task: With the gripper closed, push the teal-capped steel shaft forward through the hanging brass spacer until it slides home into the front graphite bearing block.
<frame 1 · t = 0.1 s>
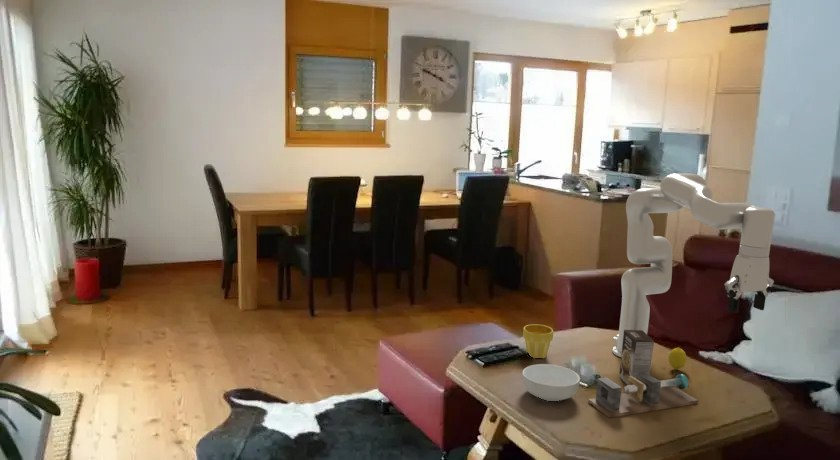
hand: (745, 310, 183), 31 cm above the table, fingers open, 9 cm apart
cereal bowl: (549, 396, 194), on the table
plant pot: (536, 355, 225), on the table
shaft: (655, 385, 192), point 5 cm above the table, slide at 0.0 cm
coffee box: (633, 382, 206), on the table
lemon: (675, 370, 217), on the table
shaft frame: (629, 404, 190), on the table
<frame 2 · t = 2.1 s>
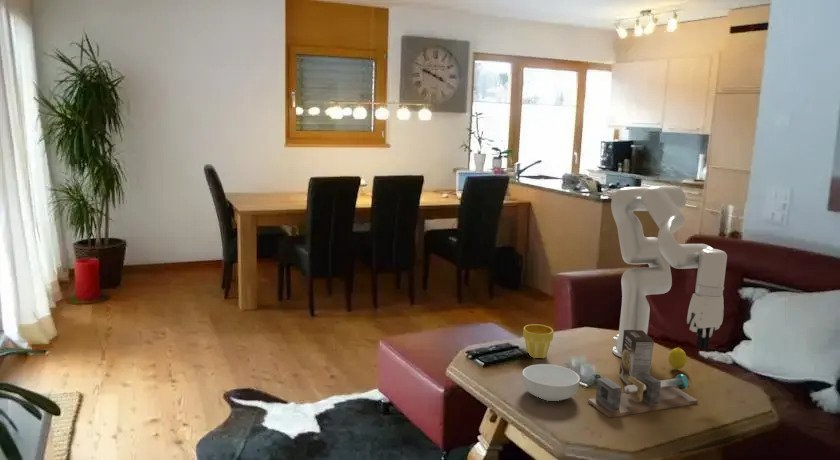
hand: (702, 348, 195), 15 cm above the table, fingers closed
nothing on the table moved.
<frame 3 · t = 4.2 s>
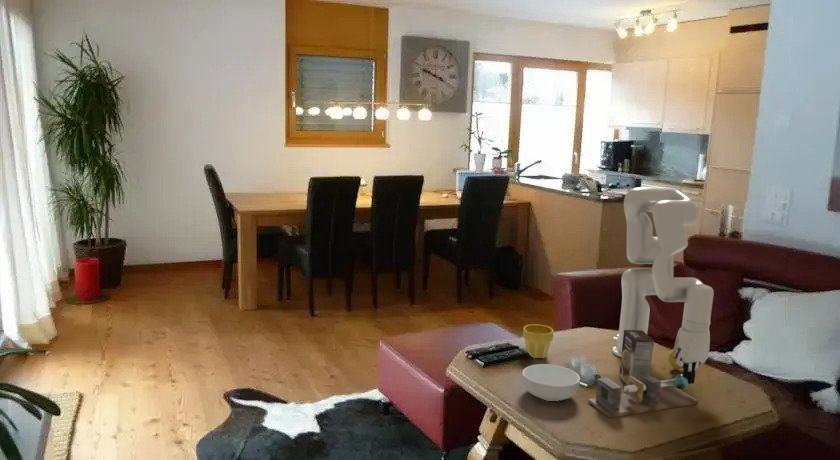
hand: (688, 381, 197), 5 cm above the table, fingers closed
shaft: (655, 385, 192), point 5 cm above the table, slide at 0.2 cm, touching gripper
everything else where it was.
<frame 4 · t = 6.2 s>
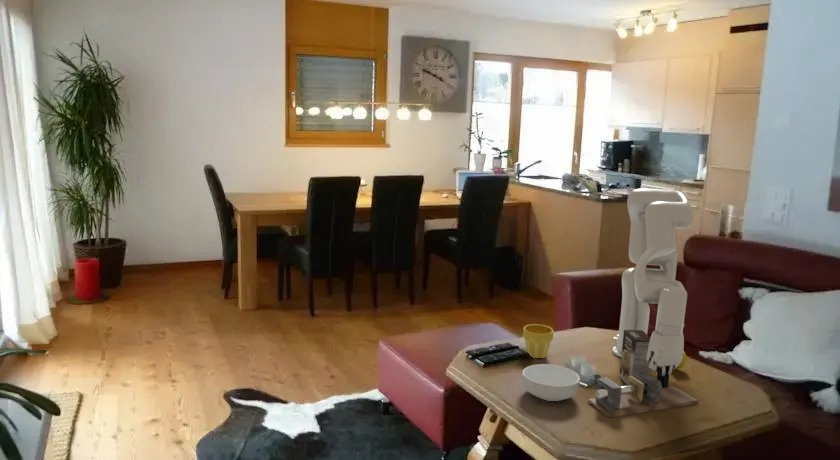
hand: (661, 385, 193), 5 cm above the table, fingers closed
shaft: (627, 389, 189), point 5 cm above the table, slide at 10.2 cm, touching gripper
everything else where it was.
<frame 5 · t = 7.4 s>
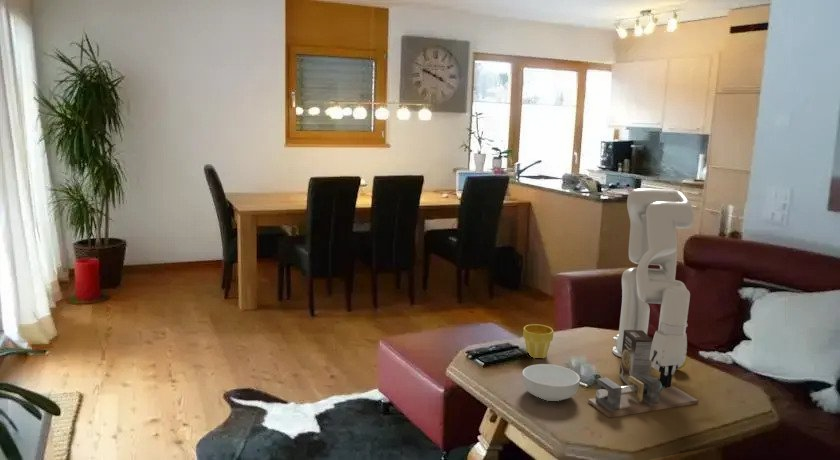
hand: (664, 385, 194), 5 cm above the table, fingers closed
shaft: (628, 389, 189), point 5 cm above the table, slide at 10.0 cm
everything else where it was.
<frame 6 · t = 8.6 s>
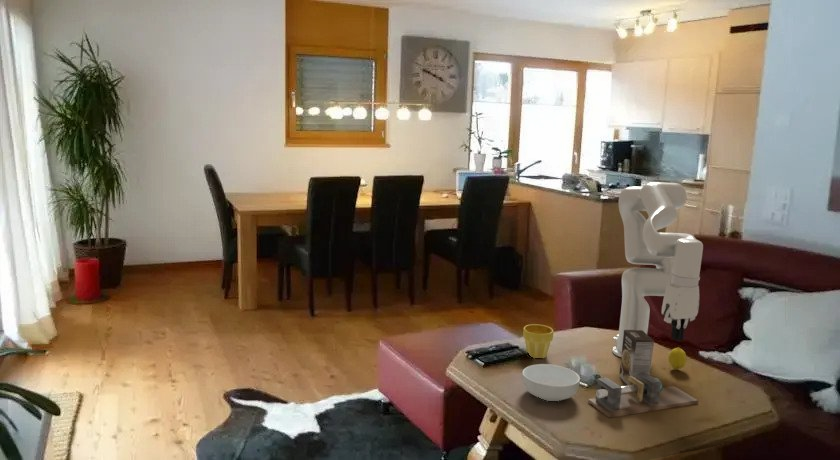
hand: (676, 339, 192), 19 cm above the table, fingers closed
nothing on the table moved.
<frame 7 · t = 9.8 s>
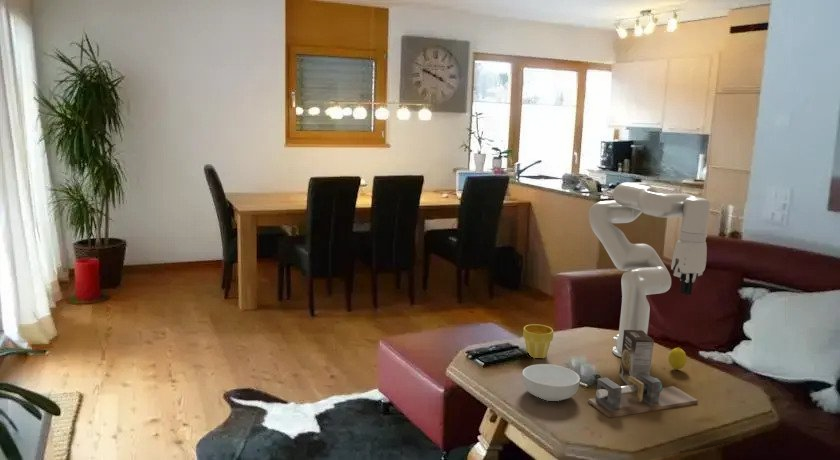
hand: (685, 293, 204), 29 cm above the table, fingers closed
nothing on the table moved.
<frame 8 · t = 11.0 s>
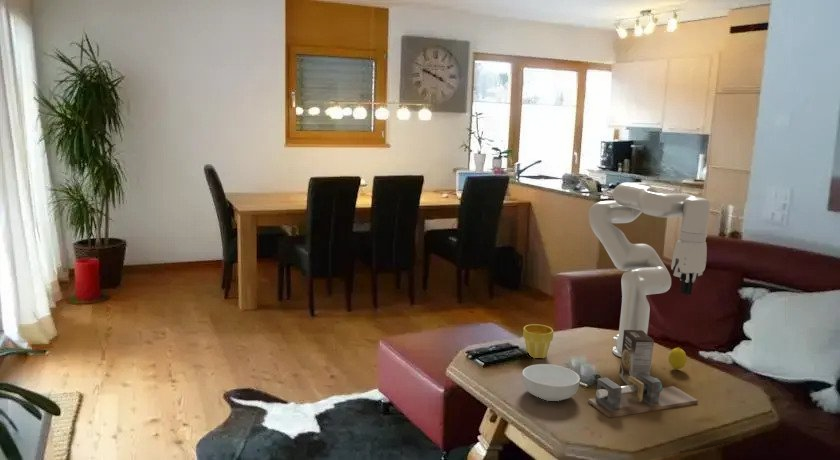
hand: (685, 293, 204), 29 cm above the table, fingers closed
nothing on the table moved.
at the end: shaft slide at 10.0 cm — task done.
